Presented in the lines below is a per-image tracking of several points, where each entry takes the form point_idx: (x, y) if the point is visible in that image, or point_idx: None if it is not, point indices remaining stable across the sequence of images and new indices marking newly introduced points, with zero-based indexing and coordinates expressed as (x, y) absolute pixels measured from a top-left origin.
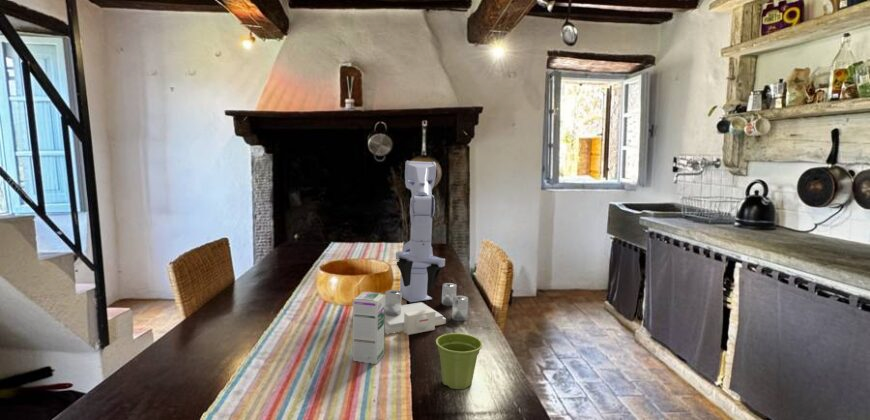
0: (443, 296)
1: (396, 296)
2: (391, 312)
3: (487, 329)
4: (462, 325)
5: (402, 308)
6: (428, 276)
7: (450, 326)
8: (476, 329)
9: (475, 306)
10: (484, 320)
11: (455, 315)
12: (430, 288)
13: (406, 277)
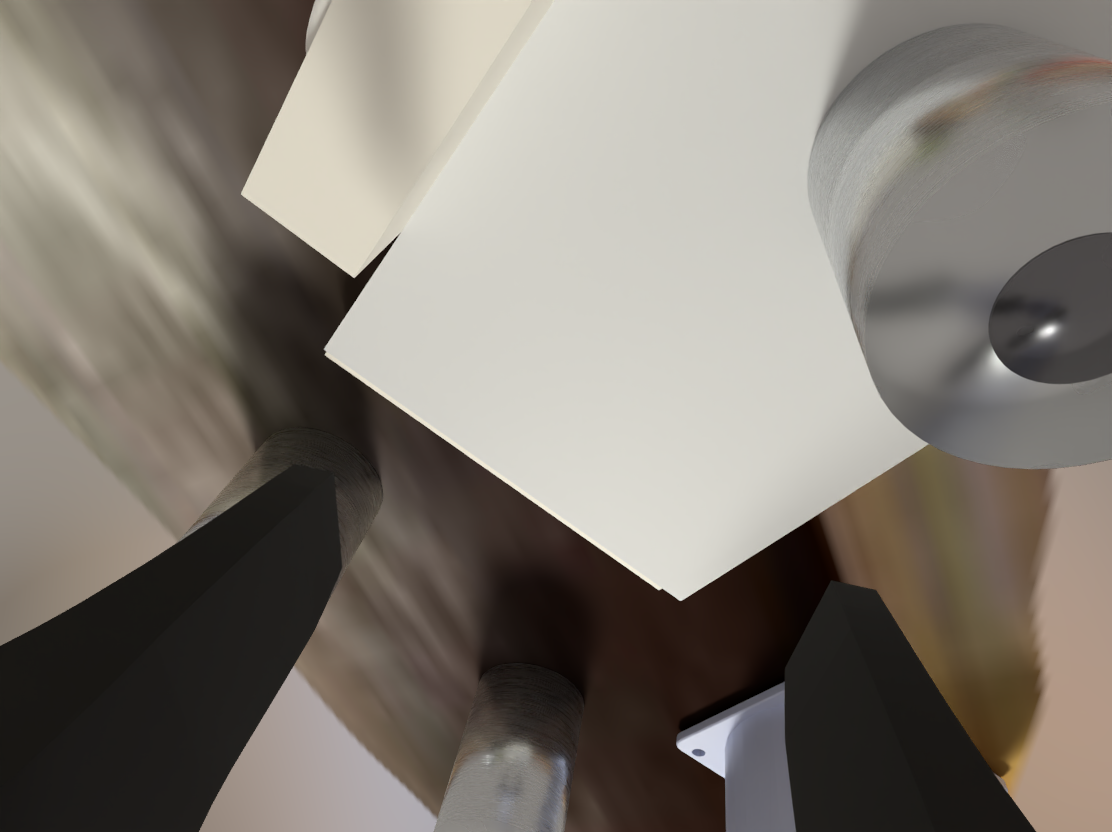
0: (547, 736)
1: (955, 148)
2: (957, 38)
3: (20, 342)
4: (214, 347)
5: (838, 386)
6: (49, 710)
7: (280, 285)
8: (77, 308)
9: (346, 686)
10: (153, 494)
11: (303, 458)
12: (247, 501)
13: (869, 779)
